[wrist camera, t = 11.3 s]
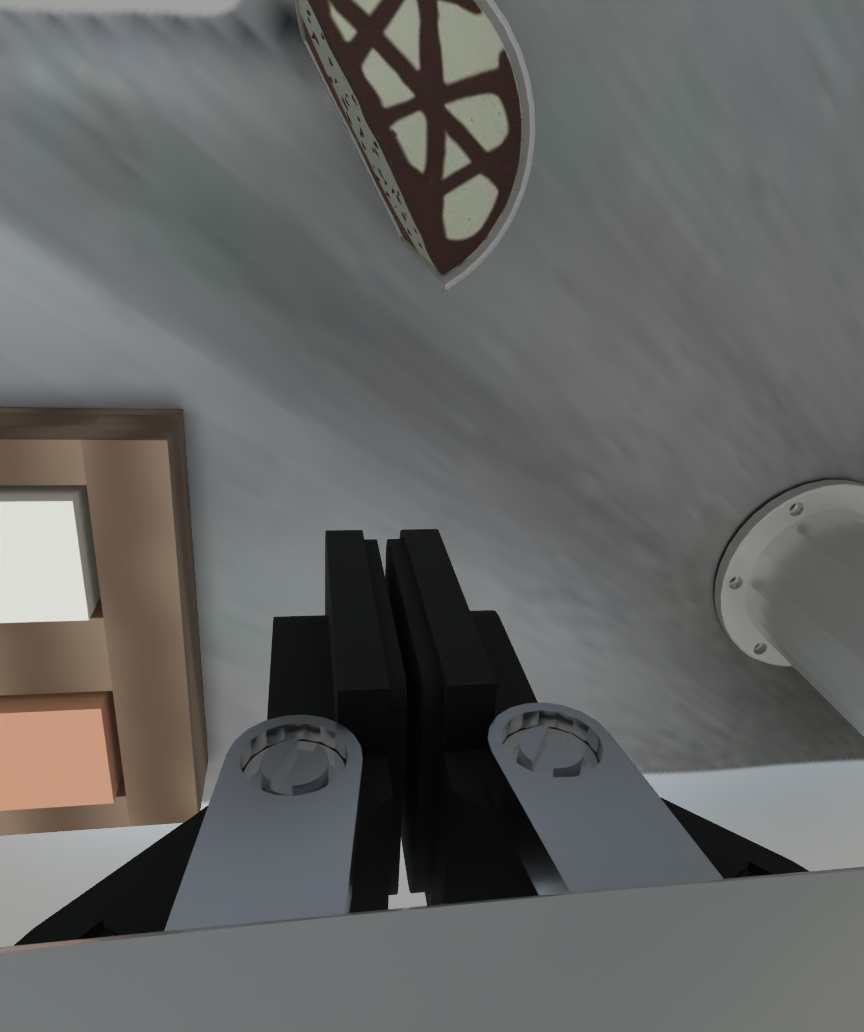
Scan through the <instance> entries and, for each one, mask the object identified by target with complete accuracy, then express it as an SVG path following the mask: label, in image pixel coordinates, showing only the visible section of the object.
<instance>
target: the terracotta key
mask: <svg viewBox="0 0 864 1032" xmlns="http://www.w3.org/2000/svg"><path fill="white" fill-rule="evenodd" d="M122 774H123V768H122V760H121V752H120V744H119V737H118V729H117V721H116V713H115V705H114V697H113V691H94V692H71V693H48V694H26V695H3V696H0V811H6V810H21V809H36V808H51V807H66V806H81V805H96V804H112V803H114V801H115V798H116V794H117V791H118V788H119V784H120V781H121V777H122Z"/></svg>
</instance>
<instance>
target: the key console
mask: <svg viewBox="0 0 864 1032" xmlns="http://www.w3.org/2000/svg"><path fill="white" fill-rule="evenodd" d="M0 485H87V493H88V501H89V509H90V517H91V525H92V532H93V540H94V548H95V556H96V564H97V572H98V579H99V587H100V595H101V596H100V598H99V600H98V603H97V605H96V607H95V609H94V611H93V613H92V615H91V617H90V619H89V620H88V621H55V622H22V623H0V696H3V695H26V694H48V693H71V692H94V691H113V697H114V705H115V713H116V721H117V729H118V737H119V744H120V752H121V760H122V768H123V774H122V777H121V781H120V784H119V788H118V791H117V794H116V798H115V801H114V803H112V804H96V805H81V806H66V807H51V808H36V809H21V810H6V811H0V835H15V834H29V833H43V832H57V831H72V830H85V829H99V828H113V827H128V826H142V825H156V824H170V823H184V822H186V821H187V820H188V819H190V818H191V817H193V816H194V815H195V814H197V813H198V812H200V808H201V802H202V795H203V789H204V783H205V776H206V770H207V764H208V751H207V738H206V724H205V710H204V696H203V682H202V669H201V655H200V641H199V627H198V613H197V600H196V586H195V572H194V558H193V544H192V531H191V517H190V503H189V489H188V475H187V462H186V448H185V434H184V420H183V409H99V408H13V407H0Z"/></svg>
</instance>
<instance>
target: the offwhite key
mask: <svg viewBox="0 0 864 1032" xmlns="http://www.w3.org/2000/svg"><path fill="white" fill-rule="evenodd" d="M100 596H101V595H100V587H99V579H98V572H97V564H96V556H95V548H94V540H93V532H92V525H91V517H90V509H89V501H88V493H87V485H0V623H22V622H55V621H88V620H89V619H90V617H91V615H92V613H93V611H94V609H95V607H96V605H97V603H98V600H99V598H100Z"/></svg>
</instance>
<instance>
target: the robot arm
mask: <svg viewBox="0 0 864 1032" xmlns="http://www.w3.org/2000/svg"><path fill="white" fill-rule="evenodd" d="M714 599H715V606H716V613H717V616H718V618H719V621H720V623H721V626H722V628H723V629H724V631H725V632H726V633H727V635H728V636H729V638H730V639H731V640H732V641H733V642H734V643H735V644H736V645H737V646H738V647H739V648H740V649H741V650H742V651H743V652H744V653H746V654H747V655H749V656H750V657H752V658H754V659H756V660H759V661H761V662H764V663H767V664H771V665H778V666H793V667H794V668H795V669H796V670H797V671H798V672H799V673H800V674H801V675H802V676H803V677H804V678H805V679H806V680H807V681H808V682H809V683H810V684H811V685H812V686H813V687H814V688H815V689H816V690H817V691H818V692H819V693H820V694H821V695H822V696H823V697H824V698H825V699H826V700H827V701H828V702H829V703H830V704H831V705H832V706H833V707H834V708H835V709H836V710H837V711H838V712H839V713H840V714H841V715H842V716H843V717H844V718H845V719H846V720H847V721H848V722H849V723H850V724H851V725H852V726H853V727H854V728H855V729H856V730H857V731H858V732H859V733H860V734H861V735H862V736H863V737H864V484H863V483H859V482H854V481H849V480H823V481H818V482H813V483H808V484H805V485H802V486H800V487H797V488H794V489H792V490H789V491H787V492H785V493H784V494H782V495H780V496H778V497H777V498H775V499H773V500H771V501H770V502H769V503H767V504H766V505H765V506H764V507H762V508H761V509H760V510H758V511H757V512H756V513H755V514H754V515H753V516H752V517H751V518H750V519H749V520H748V521H747V522H746V523H745V524H744V525H743V526H742V527H741V528H740V530H739V531H738V533H737V534H736V535H735V537H734V538H733V540H732V541H731V543H730V544H729V546H728V548H727V550H726V552H725V554H724V556H723V558H722V560H721V563H720V566H719V570H718V573H717V577H716V580H715V594H714ZM401 839H402V846H403V853H404V858H405V865H406V872H407V879H408V885H409V890H410V892H411V893H418V892H425V895H426V901H427V906H420V907H409V908H400V909H388V895H396V894H397V893H398V881H399V862H400V842H401ZM0 1032H864V867H856V868H844V869H833V870H821V871H808V870H806V869H804V868H803V867H801V866H800V865H798V864H796V863H795V862H793V861H791V860H789V859H787V858H785V857H783V856H781V855H779V854H777V853H775V852H773V851H770V850H768V849H766V848H764V847H762V846H760V845H758V844H756V843H754V842H752V841H750V840H748V839H746V838H743V837H741V836H739V835H737V834H735V833H733V832H731V831H729V830H727V829H725V828H723V827H721V826H719V825H717V824H714V823H712V822H710V821H708V820H706V819H704V818H702V817H700V816H697V815H696V814H694V813H691V812H690V811H687V810H685V809H683V808H681V807H679V806H677V805H675V804H673V803H671V802H669V801H667V800H664V799H663V798H660V797H659V796H658V794H657V793H656V792H655V791H654V789H653V788H652V787H651V785H649V783H648V782H647V780H646V779H645V778H644V776H643V775H642V774H641V773H640V771H639V770H638V769H637V767H636V766H635V765H634V764H633V762H632V761H631V760H630V759H629V757H628V756H627V755H626V753H625V752H624V751H623V750H622V748H621V747H620V746H619V745H618V743H617V742H616V741H615V739H614V738H613V737H612V736H611V734H610V733H609V732H608V731H607V730H606V729H605V728H604V727H603V726H602V725H601V724H600V723H599V722H598V721H596V720H595V719H593V718H591V717H590V716H588V715H586V714H584V713H583V712H581V711H578V710H575V709H572V708H569V707H566V706H564V705H557V704H551V703H538V702H537V700H536V698H535V695H534V693H533V691H532V689H531V687H530V684H529V682H528V680H527V678H526V675H525V673H524V671H523V669H522V667H521V664H520V662H519V660H518V658H517V655H516V653H515V651H514V649H513V646H512V644H511V642H510V640H509V638H508V635H507V633H506V631H505V629H504V626H503V624H502V622H501V620H500V618H499V616H498V614H497V613H496V611H493V610H488V611H469V608H468V605H467V603H466V600H465V598H464V595H463V592H462V590H461V587H460V585H459V582H458V580H457V577H456V574H455V572H454V569H453V567H452V564H451V562H450V559H449V556H448V554H447V551H446V549H445V546H444V543H443V541H442V538H441V536H440V533H439V531H438V529H417V530H401V533H400V539H388V540H387V546H386V570H385V576H384V571H383V567H382V562H381V557H380V552H379V547H378V543H377V540H364V536H363V531H362V530H340V531H326V536H325V615H323V616H290V617H274V620H273V635H272V651H271V667H270V684H269V700H268V717H267V720H266V721H263V722H261V723H259V724H257V725H255V726H253V727H251V728H249V729H248V730H246V731H245V732H244V733H243V734H242V735H241V736H239V737H238V738H237V739H236V740H235V741H234V743H233V744H232V746H231V748H230V749H229V751H228V753H227V754H226V757H225V760H224V763H223V766H222V768H221V771H220V774H219V777H218V780H217V783H216V785H215V788H214V791H213V794H212V797H211V800H210V802H209V805H208V806H207V807H205V808H204V809H203V810H201V811H200V812H198V813H197V814H195V815H194V816H193V817H191V818H190V819H188V820H187V821H186V822H184V823H183V824H181V825H180V826H178V827H177V828H176V829H174V830H173V831H171V832H170V833H169V834H167V835H166V836H164V837H163V838H161V839H160V840H159V841H157V842H156V843H154V844H153V845H151V846H150V847H149V848H147V849H146V850H144V851H143V852H142V853H140V854H139V855H137V856H136V857H134V858H133V859H132V860H130V861H129V862H127V863H126V864H125V865H123V866H122V867H120V868H119V869H117V870H116V871H115V872H113V873H112V874H110V875H109V876H107V877H106V878H105V879H103V880H102V881H100V882H99V883H97V884H96V885H95V886H93V887H92V888H90V889H89V890H88V891H86V892H85V893H84V894H82V895H80V896H79V897H78V898H76V899H75V900H73V901H72V902H70V903H69V904H68V905H66V906H65V907H63V908H62V909H61V910H60V911H58V912H56V913H55V914H53V915H52V916H51V917H49V918H48V919H46V920H45V921H43V922H42V923H41V924H39V925H38V926H36V927H35V928H34V929H33V930H31V931H30V932H29V933H28V934H27V935H25V936H24V937H23V938H22V939H21V940H20V941H19V942H17V943H16V944H15V945H14V946H8V947H0Z"/></svg>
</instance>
